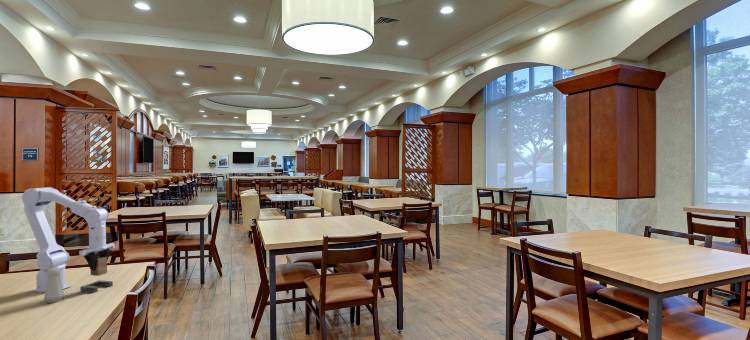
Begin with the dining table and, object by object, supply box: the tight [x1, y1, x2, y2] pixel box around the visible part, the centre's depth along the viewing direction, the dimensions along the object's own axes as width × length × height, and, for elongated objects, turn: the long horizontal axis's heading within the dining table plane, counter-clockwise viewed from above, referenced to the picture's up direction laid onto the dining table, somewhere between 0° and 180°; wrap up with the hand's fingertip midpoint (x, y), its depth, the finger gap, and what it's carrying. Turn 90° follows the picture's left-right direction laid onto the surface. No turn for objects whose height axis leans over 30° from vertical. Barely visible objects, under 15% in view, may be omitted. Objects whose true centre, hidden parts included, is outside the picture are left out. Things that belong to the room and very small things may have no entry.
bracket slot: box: [79, 279, 114, 293], centre depth 157 cm, size 7×9×2 cm
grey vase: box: [43, 267, 65, 304], centre depth 142 cm, size 6×6×13 cm
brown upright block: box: [90, 256, 108, 277], centre depth 156 cm, size 4×4×7 cm
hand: (98, 268), depth 156 cm, fingers closed on brown upright block, 4 cm apart
